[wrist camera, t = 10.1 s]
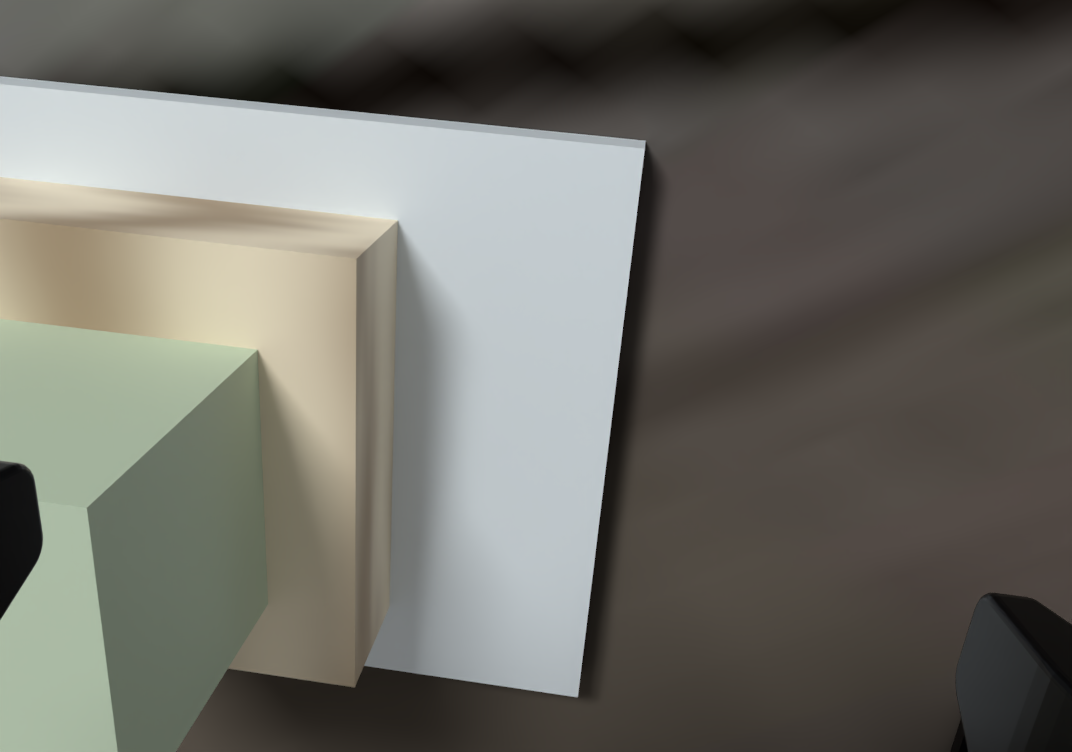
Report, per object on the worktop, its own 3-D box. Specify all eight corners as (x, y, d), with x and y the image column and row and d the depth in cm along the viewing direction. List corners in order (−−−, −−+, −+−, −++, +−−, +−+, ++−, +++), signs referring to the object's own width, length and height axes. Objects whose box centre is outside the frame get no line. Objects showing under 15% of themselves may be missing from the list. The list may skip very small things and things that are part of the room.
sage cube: (257, 349, 19) (86, 507, 13) (268, 604, 21) (127, 828, 15) (-35, 314, 19) (-318, 453, 14) (8, 567, 21) (-218, 772, 16)
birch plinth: (397, 220, 20) (356, 258, 18) (389, 606, 24) (354, 687, 22) (-46, 172, 21) (-152, 202, 18) (16, 553, 25) (-64, 625, 22)
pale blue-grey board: (645, 140, 20) (644, 148, 19) (580, 671, 26) (577, 697, 25) (-238, 52, 22) (-278, 56, 21) (-119, 569, 27) (-146, 590, 26)
